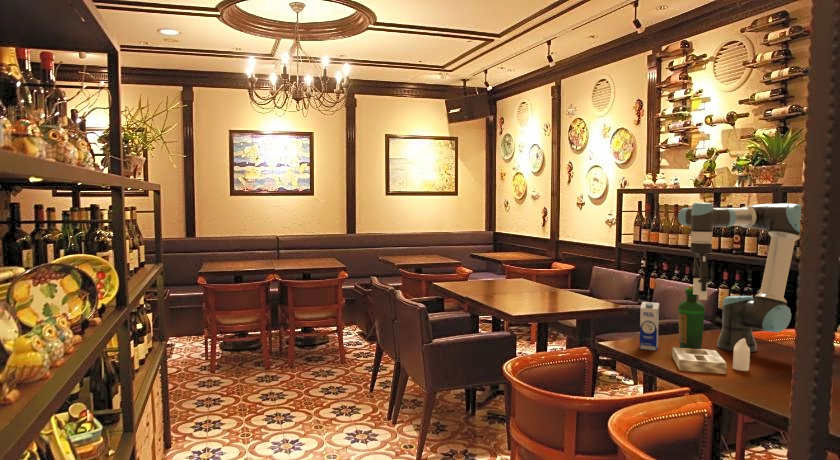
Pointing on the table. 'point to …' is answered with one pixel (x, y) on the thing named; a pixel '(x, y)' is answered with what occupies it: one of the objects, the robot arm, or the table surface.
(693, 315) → the bottle
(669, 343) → the table surface
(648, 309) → the milk carton
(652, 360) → the table surface
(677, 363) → the socket board
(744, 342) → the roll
